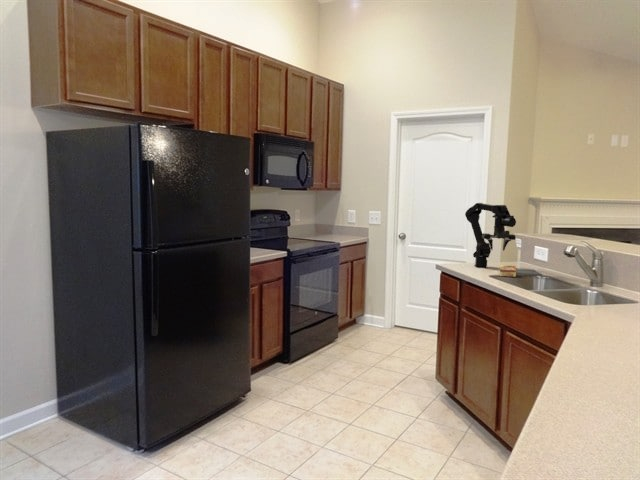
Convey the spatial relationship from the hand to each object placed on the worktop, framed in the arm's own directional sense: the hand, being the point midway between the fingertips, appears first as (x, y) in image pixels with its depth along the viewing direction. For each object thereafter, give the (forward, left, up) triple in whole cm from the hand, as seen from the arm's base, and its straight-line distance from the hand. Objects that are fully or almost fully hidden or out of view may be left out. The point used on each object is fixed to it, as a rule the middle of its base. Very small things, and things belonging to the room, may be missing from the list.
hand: (497, 250), depth 291 cm
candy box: (+6, -2, -11) cm, 13 cm away
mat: (+17, 0, -13) cm, 22 cm away
